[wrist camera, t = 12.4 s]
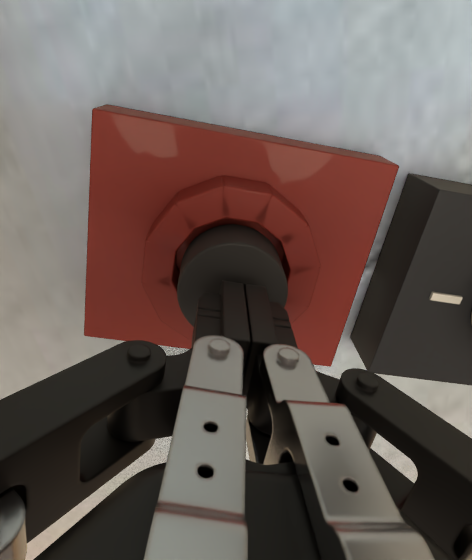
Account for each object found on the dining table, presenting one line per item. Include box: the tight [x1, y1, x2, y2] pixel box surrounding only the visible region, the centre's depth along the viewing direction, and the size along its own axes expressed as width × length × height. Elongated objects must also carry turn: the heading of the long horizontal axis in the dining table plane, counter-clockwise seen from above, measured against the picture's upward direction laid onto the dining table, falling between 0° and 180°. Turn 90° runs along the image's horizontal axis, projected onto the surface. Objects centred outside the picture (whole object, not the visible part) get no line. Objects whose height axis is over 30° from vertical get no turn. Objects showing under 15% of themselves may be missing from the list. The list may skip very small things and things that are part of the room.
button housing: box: [84, 105, 399, 366], centre depth 19 cm, size 12×10×4 cm
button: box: [177, 224, 288, 327], centre depth 16 cm, size 4×4×2 cm
